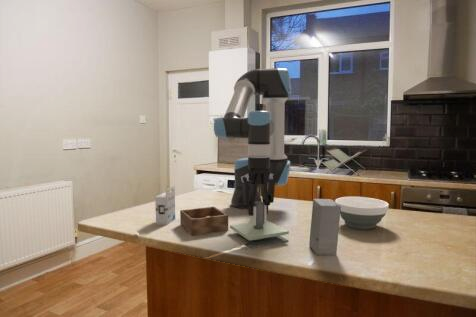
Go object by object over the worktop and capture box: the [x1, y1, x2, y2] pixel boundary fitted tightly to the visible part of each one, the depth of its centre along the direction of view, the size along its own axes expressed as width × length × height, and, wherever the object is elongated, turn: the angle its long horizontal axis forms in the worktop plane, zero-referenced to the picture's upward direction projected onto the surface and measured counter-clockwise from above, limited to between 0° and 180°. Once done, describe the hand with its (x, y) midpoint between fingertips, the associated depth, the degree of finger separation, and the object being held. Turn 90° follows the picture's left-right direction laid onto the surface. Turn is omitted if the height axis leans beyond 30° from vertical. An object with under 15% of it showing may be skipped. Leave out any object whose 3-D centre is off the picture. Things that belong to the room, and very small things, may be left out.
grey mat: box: [244, 235, 289, 249], centre depth 116 cm, size 15×15×1 cm
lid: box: [229, 201, 290, 242], centre depth 116 cm, size 15×15×10 cm
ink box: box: [154, 185, 176, 226], centre depth 133 cm, size 9×5×15 cm, turn 168°
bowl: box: [334, 196, 389, 231], centre depth 130 cm, size 20×20×10 cm
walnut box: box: [179, 206, 229, 237], centre depth 125 cm, size 14×14×6 cm
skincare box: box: [308, 198, 341, 256], centre depth 104 cm, size 8×7×16 cm
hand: (258, 223), depth 116 cm, fingers closed on lid, 3 cm apart
